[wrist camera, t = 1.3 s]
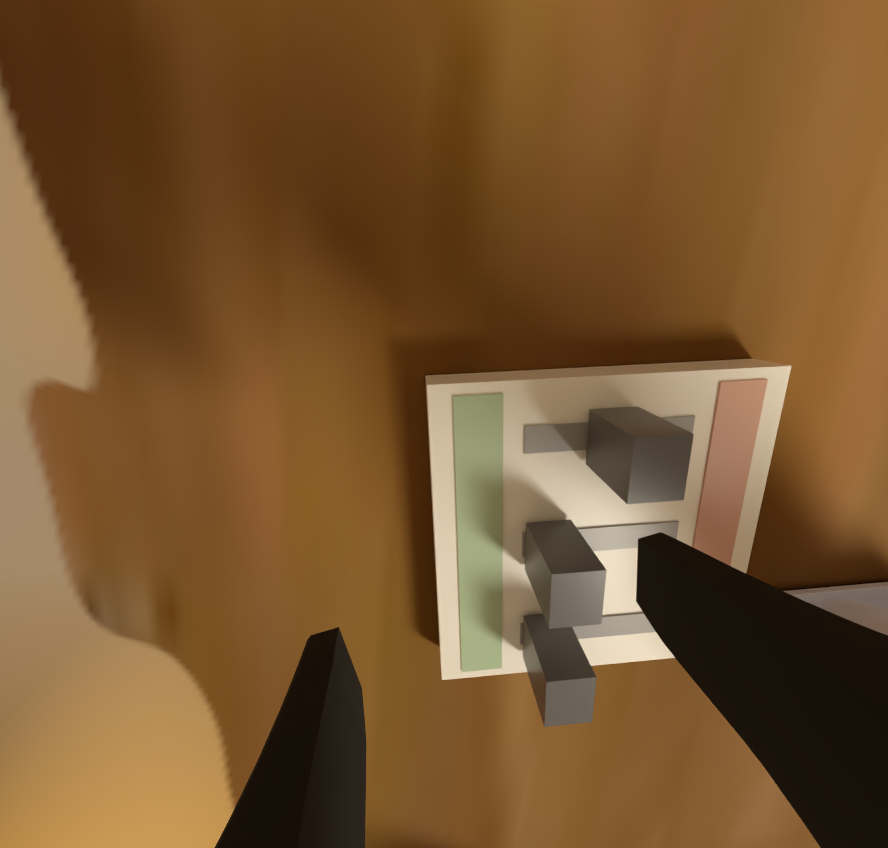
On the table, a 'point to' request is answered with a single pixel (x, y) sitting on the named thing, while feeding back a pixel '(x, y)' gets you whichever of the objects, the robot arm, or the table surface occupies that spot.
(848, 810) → the robot arm
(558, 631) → the block
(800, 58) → the table surface
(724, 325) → the table surface
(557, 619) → the block
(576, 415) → the breaker board
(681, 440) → the block
